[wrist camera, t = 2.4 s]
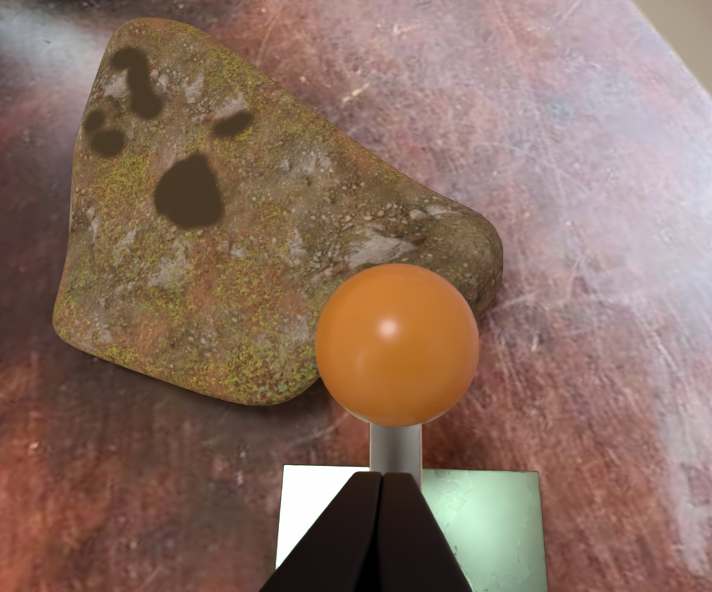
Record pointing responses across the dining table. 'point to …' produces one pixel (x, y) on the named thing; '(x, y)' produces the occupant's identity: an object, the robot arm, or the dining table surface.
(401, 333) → the switch lever
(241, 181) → the decorative stone
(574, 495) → the dining table surface
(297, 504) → the switch bracket
